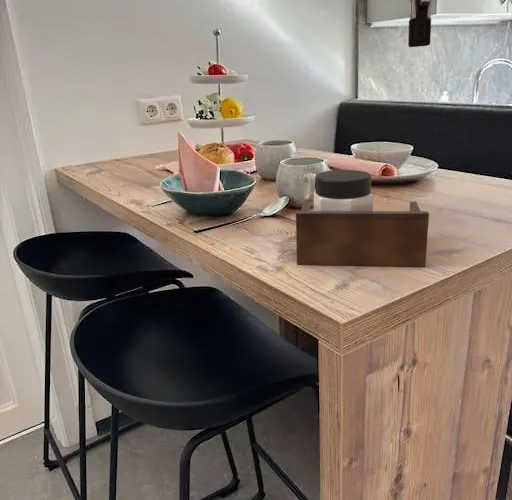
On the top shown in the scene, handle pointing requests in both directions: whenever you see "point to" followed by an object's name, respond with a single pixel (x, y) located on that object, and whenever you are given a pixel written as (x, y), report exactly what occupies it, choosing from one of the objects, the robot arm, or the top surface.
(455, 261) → the top surface
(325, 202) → the jar
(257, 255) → the top surface
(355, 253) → the brown wooden tray
